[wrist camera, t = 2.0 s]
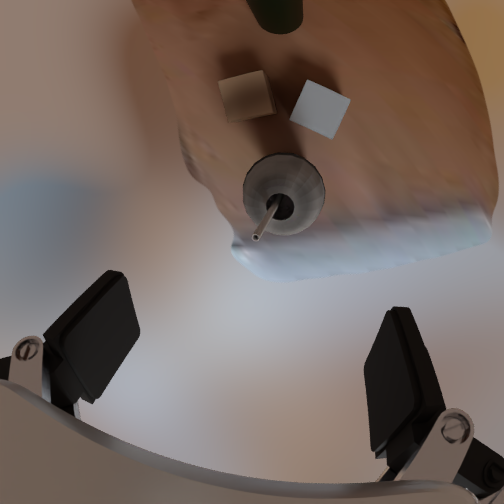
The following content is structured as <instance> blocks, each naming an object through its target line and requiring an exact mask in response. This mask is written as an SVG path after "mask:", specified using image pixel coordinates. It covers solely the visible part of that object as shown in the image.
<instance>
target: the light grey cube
mask: <svg viewBox="0 0 504 504" xmlns="http://www.w3.org/2000/svg"><path fill="white" fill-rule="evenodd" d="M350 101H351V100H350V99H348V98H346V97H344V96H342V95H340V94H338V93H336V92H334V91H332V90H330V89H328V88H325V87H323V86H321V85H319V84H316V83H314V82H312V81H310V80H307V81H306V83H305V86H304V88H303V90H302V92H301V95H300V97H299V99H298V101H297V103H296V106H295V108H294V110H293V112H292V115H291V117H290V119H289V120H291V121H293V122H295V123H298V124H300V125H302V126H304V127H307V128H309V129H311V130H313V131H315V132H317V133H320V134H322V135H324V136H326V137H328V138H330V139H332V140H333V137H334V135H335V133H336V131H337V129H338V127H339V125H340V123H341V120H342V118H343V116H344V114H345V112H346V110H347V108H348V105H349V103H350Z"/></svg>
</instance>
